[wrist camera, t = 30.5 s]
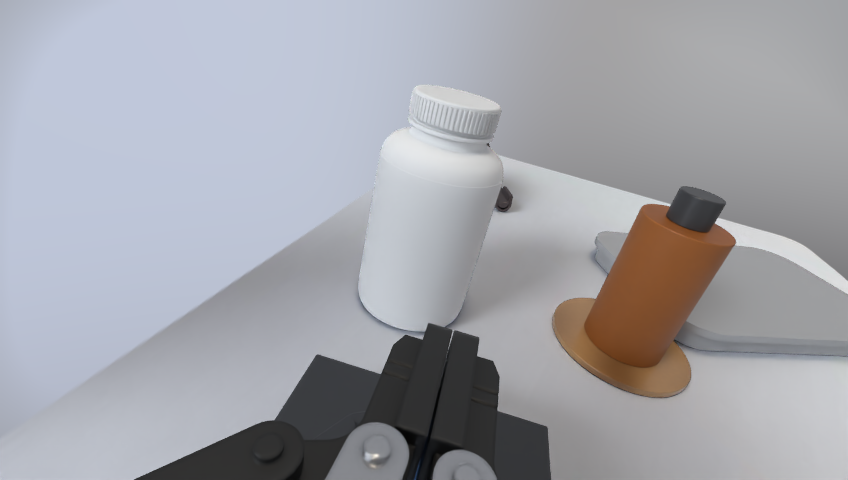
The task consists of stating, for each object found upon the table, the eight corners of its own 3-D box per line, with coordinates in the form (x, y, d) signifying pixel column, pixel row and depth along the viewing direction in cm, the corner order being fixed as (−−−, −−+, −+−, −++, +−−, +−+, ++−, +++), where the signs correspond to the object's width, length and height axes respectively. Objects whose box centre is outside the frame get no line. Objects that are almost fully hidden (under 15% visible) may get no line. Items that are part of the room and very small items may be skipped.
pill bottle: (445, 352, 27) (514, 123, 20) (336, 308, 28) (364, 82, 21) (472, 290, 34) (530, 104, 27) (383, 258, 35) (416, 74, 28)
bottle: (589, 353, 29) (670, 197, 23) (579, 307, 34) (645, 170, 28) (670, 377, 28) (774, 224, 23) (649, 327, 33) (730, 191, 28)
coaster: (557, 370, 27) (560, 365, 27) (548, 289, 36) (550, 285, 36) (711, 417, 26) (715, 411, 26) (663, 322, 35) (666, 318, 35)
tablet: (577, 246, 45) (585, 228, 44) (761, 265, 51) (772, 249, 50) (678, 355, 31) (693, 333, 30) (914, 363, 37) (933, 345, 36)
